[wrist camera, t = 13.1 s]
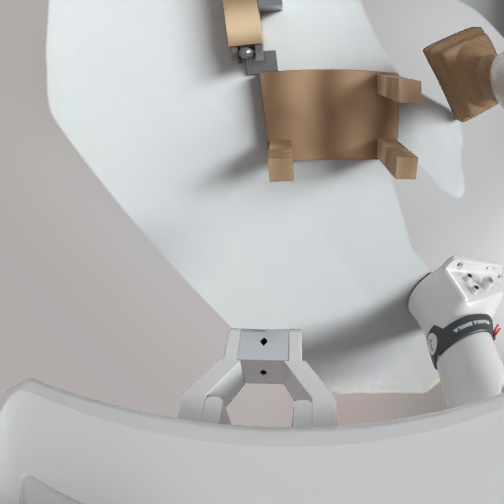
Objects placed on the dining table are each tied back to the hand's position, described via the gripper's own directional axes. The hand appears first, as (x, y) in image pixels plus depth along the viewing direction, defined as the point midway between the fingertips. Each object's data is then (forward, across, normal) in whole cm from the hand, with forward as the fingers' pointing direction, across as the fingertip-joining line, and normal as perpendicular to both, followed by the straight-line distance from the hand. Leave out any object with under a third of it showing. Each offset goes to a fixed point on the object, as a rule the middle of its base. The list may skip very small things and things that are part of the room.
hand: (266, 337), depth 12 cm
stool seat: (+29, -7, -5) cm, 30 cm away
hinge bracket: (+29, +1, -12) cm, 31 cm away
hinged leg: (+28, +3, -19) cm, 34 cm away
